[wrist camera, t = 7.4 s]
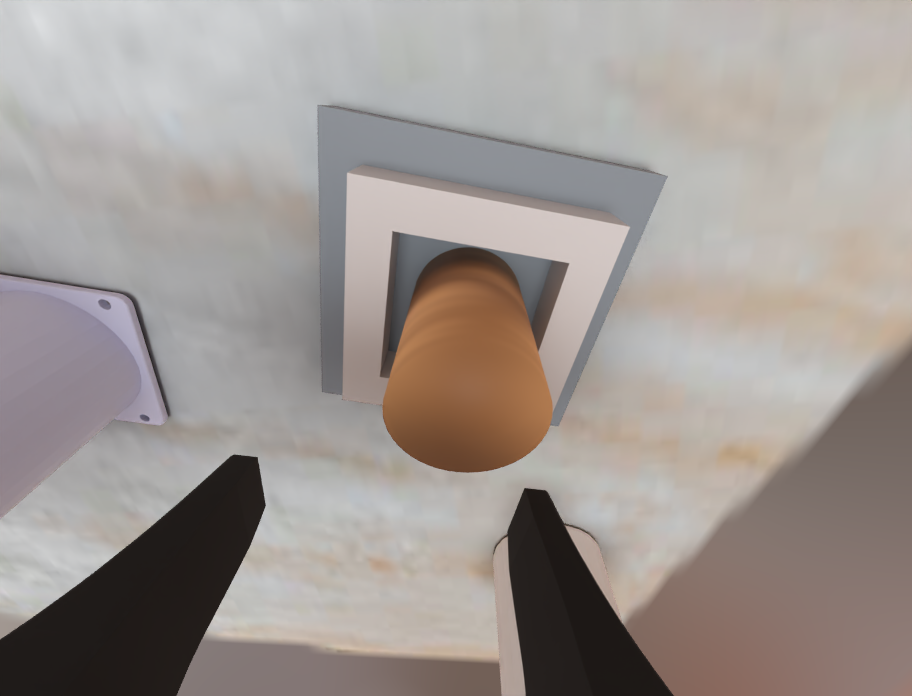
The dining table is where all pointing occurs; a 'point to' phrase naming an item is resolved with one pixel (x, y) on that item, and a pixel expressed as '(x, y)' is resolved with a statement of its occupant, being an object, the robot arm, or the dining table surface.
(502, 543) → the mug
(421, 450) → the peg
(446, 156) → the socket board
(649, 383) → the dining table surface
